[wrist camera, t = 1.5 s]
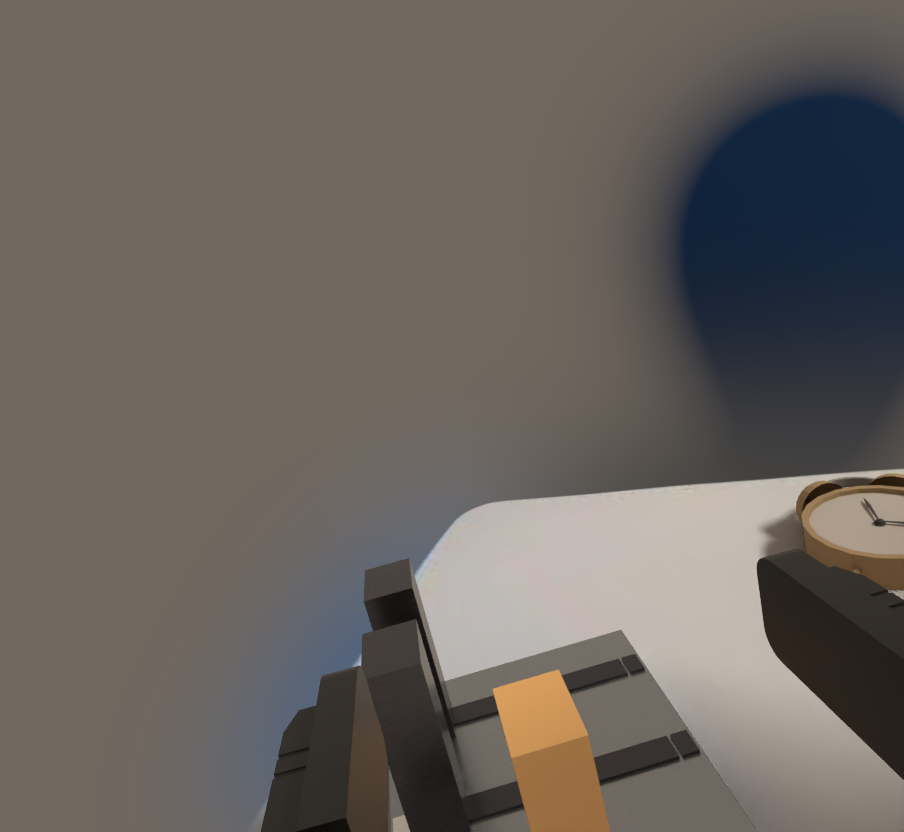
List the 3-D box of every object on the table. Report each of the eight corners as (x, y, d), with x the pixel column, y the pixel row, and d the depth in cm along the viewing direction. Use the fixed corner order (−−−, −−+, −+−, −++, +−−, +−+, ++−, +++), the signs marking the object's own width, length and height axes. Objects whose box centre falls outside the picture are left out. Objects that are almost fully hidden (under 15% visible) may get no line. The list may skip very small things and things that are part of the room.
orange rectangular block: (568, 972, 26) (511, 758, 23) (543, 881, 30) (492, 688, 27) (637, 950, 26) (588, 734, 24) (603, 863, 30) (558, 669, 27)
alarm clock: (822, 567, 48) (777, 462, 61) (825, 615, 50) (781, 504, 63) (1001, 554, 45) (913, 446, 57) (997, 606, 46) (913, 491, 59)
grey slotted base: (413, 1141, 24) (310, 872, 21) (396, 726, 47) (344, 563, 43) (845, 997, 25) (812, 718, 22) (626, 658, 48) (593, 493, 44)
